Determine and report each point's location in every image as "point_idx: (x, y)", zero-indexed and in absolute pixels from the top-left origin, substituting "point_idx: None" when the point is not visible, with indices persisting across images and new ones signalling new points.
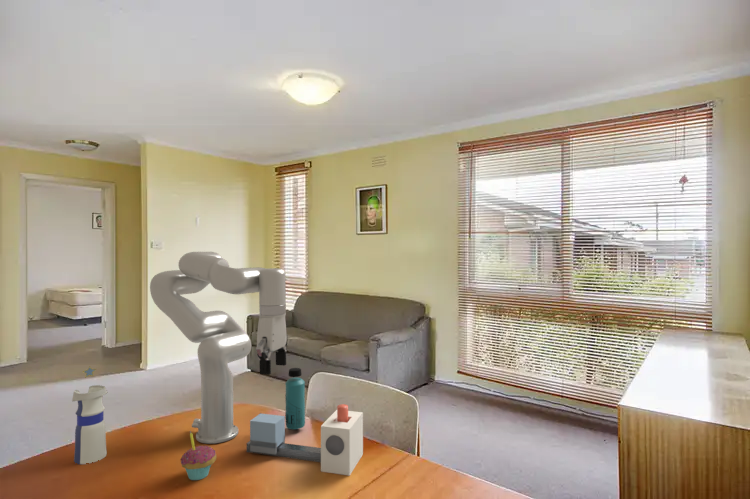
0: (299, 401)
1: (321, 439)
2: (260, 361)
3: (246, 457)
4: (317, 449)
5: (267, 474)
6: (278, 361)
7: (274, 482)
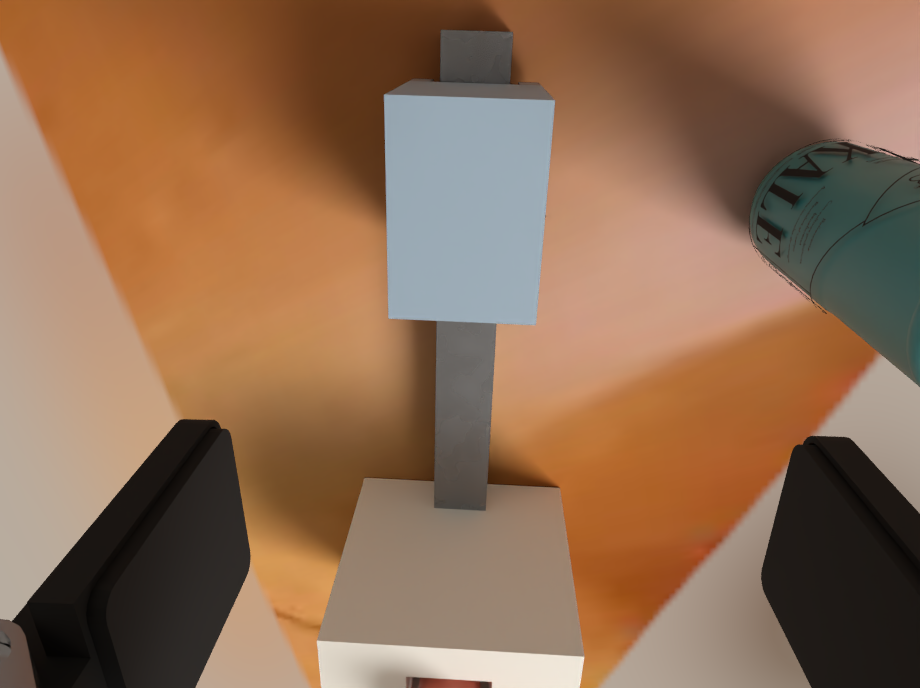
0: (850, 327)
1: (334, 584)
2: (63, 589)
3: (384, 69)
4: (467, 458)
5: (263, 275)
6: (814, 527)
7: (217, 334)
